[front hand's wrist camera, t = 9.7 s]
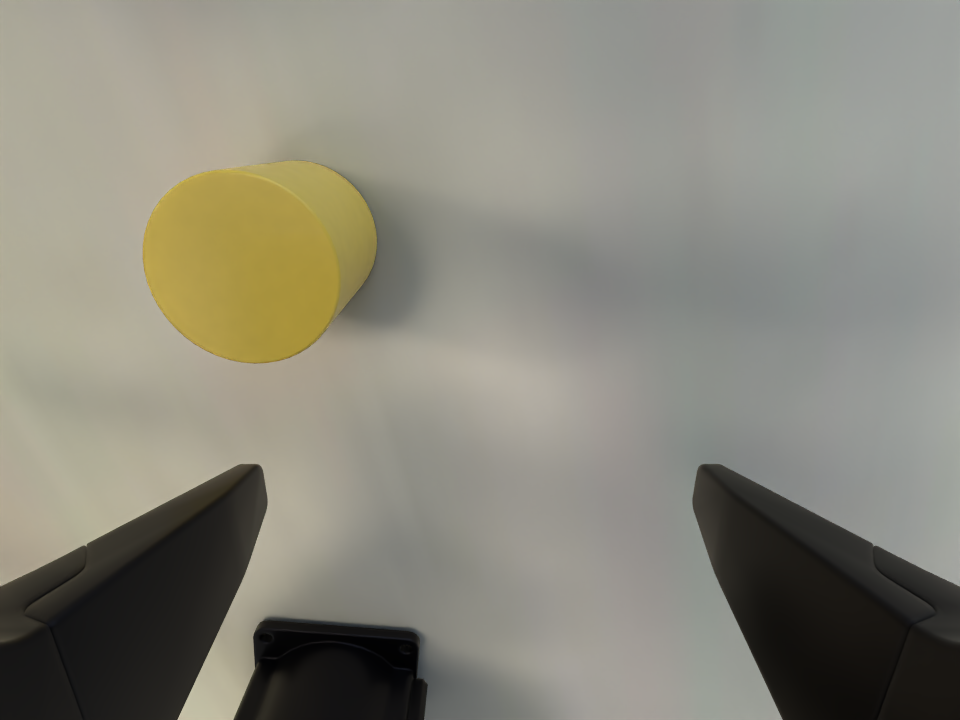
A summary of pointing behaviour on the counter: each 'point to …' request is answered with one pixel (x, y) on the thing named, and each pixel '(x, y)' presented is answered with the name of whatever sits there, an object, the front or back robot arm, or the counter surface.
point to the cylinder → (258, 257)
